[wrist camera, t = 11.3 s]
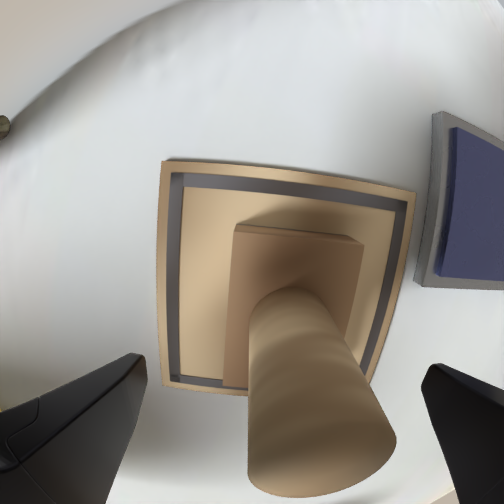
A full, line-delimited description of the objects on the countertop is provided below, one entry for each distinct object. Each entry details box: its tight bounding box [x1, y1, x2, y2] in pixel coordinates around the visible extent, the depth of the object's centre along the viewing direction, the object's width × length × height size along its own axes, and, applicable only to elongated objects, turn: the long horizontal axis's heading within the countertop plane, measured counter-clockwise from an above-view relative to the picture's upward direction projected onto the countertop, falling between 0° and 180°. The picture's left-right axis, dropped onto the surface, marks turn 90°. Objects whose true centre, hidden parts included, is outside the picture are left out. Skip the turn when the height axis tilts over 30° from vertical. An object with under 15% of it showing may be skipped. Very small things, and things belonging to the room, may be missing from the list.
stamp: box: [223, 224, 396, 498], centre depth 9 cm, size 5×7×9 cm
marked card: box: [156, 161, 416, 396], centre depth 13 cm, size 12×12×1 cm
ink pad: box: [413, 111, 504, 290], centre depth 12 cm, size 10×9×1 cm
